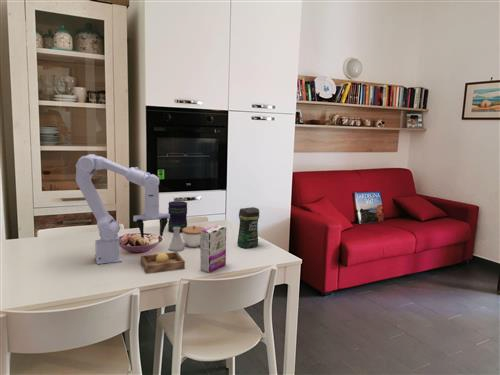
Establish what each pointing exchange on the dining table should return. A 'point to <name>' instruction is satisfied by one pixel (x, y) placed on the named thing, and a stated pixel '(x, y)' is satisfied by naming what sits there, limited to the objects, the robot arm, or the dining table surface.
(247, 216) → the coffee jar
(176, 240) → the flask
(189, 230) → the lidded jar
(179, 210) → the storage jar
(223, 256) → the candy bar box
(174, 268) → the tray
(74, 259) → the dining table surface
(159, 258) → the ball
